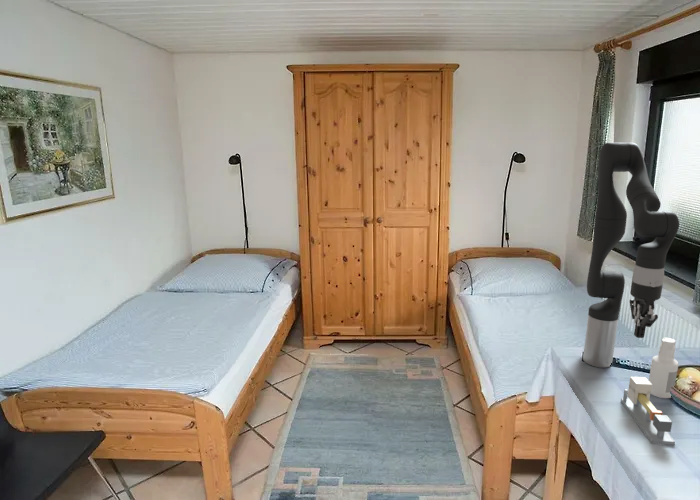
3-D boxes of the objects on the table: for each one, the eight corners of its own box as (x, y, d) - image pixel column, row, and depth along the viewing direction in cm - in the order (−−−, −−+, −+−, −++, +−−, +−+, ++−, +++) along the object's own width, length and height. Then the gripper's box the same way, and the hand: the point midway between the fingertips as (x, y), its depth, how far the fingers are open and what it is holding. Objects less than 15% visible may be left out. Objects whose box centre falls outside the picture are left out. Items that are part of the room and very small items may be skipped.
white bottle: (676, 399, 148) (686, 345, 143) (652, 397, 149) (660, 344, 145) (667, 387, 155) (676, 335, 150) (643, 386, 156) (652, 334, 151)
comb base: (620, 401, 148) (622, 387, 147) (640, 402, 147) (642, 388, 146) (651, 443, 129) (654, 428, 128) (674, 445, 128) (677, 430, 127)
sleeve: (627, 396, 145) (630, 376, 143) (642, 396, 145) (645, 377, 143) (633, 403, 141) (636, 383, 140) (648, 404, 141) (652, 384, 139)
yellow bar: (629, 394, 145) (631, 385, 144) (640, 395, 145) (641, 386, 144) (658, 431, 128) (659, 421, 127) (670, 432, 128) (672, 422, 127)
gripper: (623, 273, 145) (616, 326, 150) (643, 288, 133) (635, 346, 137) (650, 273, 144) (642, 327, 149) (673, 289, 132) (663, 347, 136)
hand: (638, 336), depth 143 cm, fingers closed
